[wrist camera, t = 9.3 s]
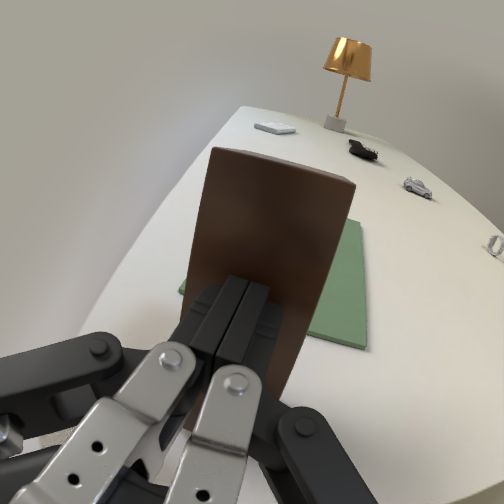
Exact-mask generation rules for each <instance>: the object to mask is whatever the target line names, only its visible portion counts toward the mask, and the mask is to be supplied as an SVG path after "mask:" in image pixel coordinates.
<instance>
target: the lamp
mask: <svg viewBox="0 0 504 504" xmlns="http://www.w3.org/2000/svg"><path fill="white" fill-rule="evenodd" d="M371 54H372V48H371V47H370V46H368V45H366V44H364V43H361V42H358V41H354V40H351V39H346V38H336V39H335V41H334V44H333V46H332V49H331V51H330V53H329V55H328V58H327V60H326V63H325V65H324V67H323V69H326V70H329V71H332V72H336V73H339V74H342V75H345V78H344V82H343V86H342V91H341V95H340V99H339V104H338V107H337V112H336V115H335V116H334V115H330V114H327V116H326V120H325V124H324V128H327V129H330V130H334V131H337V132H340V133H343V132H344V128H345V124H346V119H344V118H341V117H338V115H339V111H340V107H341V103H342V99H343V95H344V90H345V87H346V83H347V78H348V76H349V77H353V78H357V79H360V80H364V81H368V82H370V81H371V80H370V79H371V56H372V55H371Z"/></svg>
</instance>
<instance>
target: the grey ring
mask: <svg viewBox="0 0 504 504" xmlns="http://www.w3.org/2000/svg"><path fill="white" fill-rule="evenodd" d="M497 237H499V239H500V241H501V245H500V247H499V249H498V251H497V253H495V254H494V253H493V251H492V247H493V246H494V244H495V242H496V240H497ZM487 245H488V249H489V252H490V253H491V254H492V255H495V256H498V255H500V254H501V253H502V252H503V250H504V239H503V237H502V236H499V235H494V236H491V238H490V240H489V242H488V244H487Z"/></svg>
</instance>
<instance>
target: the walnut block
mask: <svg viewBox="0 0 504 504" xmlns="http://www.w3.org/2000/svg"><path fill="white" fill-rule="evenodd" d="M355 189H356V185H355V184H354V183H353V182H351V181H349V180H348V179H346V178H345V177H342V176H339V175H336V174H333V173H329V172H326V171H322V170H319V169H316V168H312V167H309V166H305V165H301V164H298V163H294V162H290V161H287V160H283V159H279V158H275V157H271V156H267V155H263V154H259V153H255V152H250V151H246V150H238V149H230V148H222V147H213V148H212V150H211V155H210V159H209V164H208V168H207V173H206V177H205V182H204V187H203V192H202V197H201V202H200V207H199V212H198V217H197V222H196V227H195V232H194V238H193V243H192V249H191V255H190V260H189V266H188V272H187V278H186V284H185V290H184V297H183V303H182V310H181V317H180V321H181V320H182V318H183V317H184V315H185V314H186V312H187V311H188V310H189V308H190V306H191V305H192V303H193V302H194V300H195V299H196V297H197V296H198V294H199V292H200V291H201V290H202V289H204V288H206V287H207V286H209V285H210V284H215V285H218V286H221V287H223V285H224V284H225V282H226V280H227V279H228V277H229V275H233V276H237V277H240V278H243V279H246V280H249V281H250V282H251V281H253V282H256V283H259V284H262V285H266V286H269V287H271V289H270V293H269V297H268V300H267V301H268V302H271V303H275V304H278V305H281V309H282V313H283V321H282V324H281V327H280V331H279V334H278V337H277V341H276V344H275V347H274V351H273V354H272V357H271V360H270V364H269V367H268V370H267V373H266V384H267V387H268V389H269V391H270V392H271V394H272V395H273V396H274V397H275V398H276V399H278V400H279V399H280V397H281V395H282V392H283V390H284V388H285V386H286V383H287V381H288V379H289V376H290V374H291V371H292V369H293V367H294V364H295V362H296V359H297V357H298V354H299V352H300V349H301V347H302V344H303V342H304V339H305V337H306V334H307V332H308V329H309V327H310V324H311V321H312V319H313V316H314V313H315V311H316V308H317V305H318V303H319V300H320V297H321V294H322V292H323V289H324V286H325V283H326V280H327V277H328V275H329V272H330V269H331V266H332V263H333V260H334V257H335V254H336V251H337V248H338V245H339V242H340V239H341V236H342V232H343V229H344V226H345V223H346V220H347V216H348V213H349V210H350V206H351V203H352V200H353V196H354V193H355ZM205 396H206V395H204V394H201V393H200V394H199V396H198V398H197V400H196V402H195V404H194V406H193V410H192V412H191V414H190V416H189V417H188V419H187V421H186V422H185V424H184V426H183V427H182V428H185V429H187V430H190V431H192V432H193V430H194V427H195V424H196V421H197V419H198V416H199V413H200V410H201V408H202V405H203V402H204V399H205Z"/></svg>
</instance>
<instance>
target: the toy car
mask: <svg viewBox="0 0 504 504" xmlns="http://www.w3.org/2000/svg"><path fill="white" fill-rule="evenodd" d="M403 185H404V187H407V191H409V192H410V191H414V192H416V193H418V194H421V195H424V197H425V198H426V199H428V198H431V199H432V192H431V191H430V190H429V189H428V188H426V187H425V186H424V185H423V183H422V182H421V181H418V180H414V179H412V178H411V177H407V179H406V180H405V182H404V184H403Z"/></svg>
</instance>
